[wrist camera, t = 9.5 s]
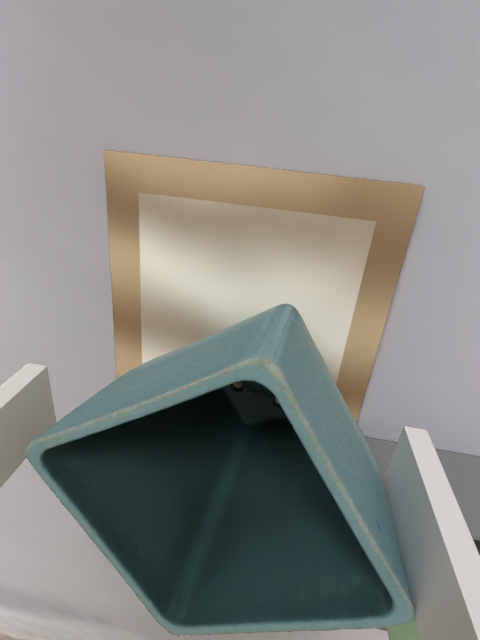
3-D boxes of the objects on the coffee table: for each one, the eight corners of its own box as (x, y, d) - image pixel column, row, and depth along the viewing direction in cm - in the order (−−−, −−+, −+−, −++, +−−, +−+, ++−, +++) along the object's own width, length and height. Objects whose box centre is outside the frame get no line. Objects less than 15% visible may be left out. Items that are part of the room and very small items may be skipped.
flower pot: (233, 461, 21) (167, 642, 13) (150, 329, 19) (13, 451, 11) (389, 419, 18) (424, 630, 10) (307, 254, 16) (267, 352, 8)
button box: (349, 434, 21) (362, 514, 16) (502, 460, 20) (559, 552, 16) (321, 530, 24) (326, 617, 20) (451, 555, 24) (486, 652, 19)
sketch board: (110, 150, 16) (102, 150, 16) (420, 185, 15) (425, 187, 15) (125, 458, 24) (120, 467, 24) (331, 497, 23) (332, 507, 22)
